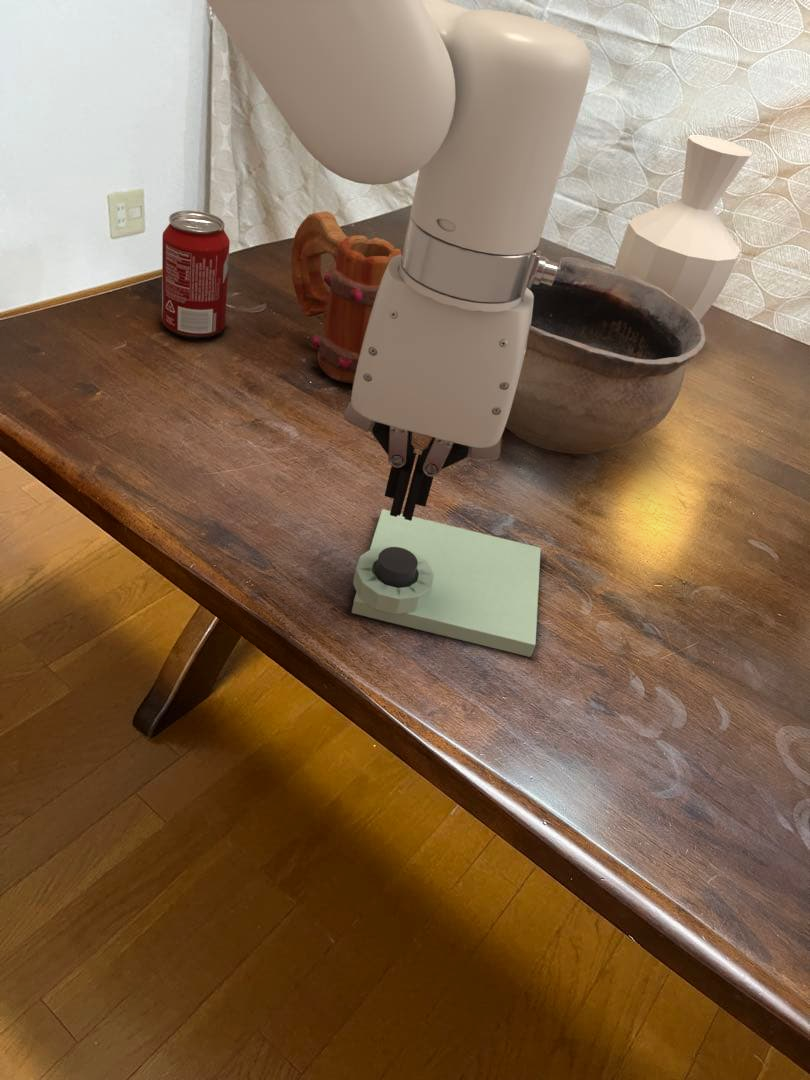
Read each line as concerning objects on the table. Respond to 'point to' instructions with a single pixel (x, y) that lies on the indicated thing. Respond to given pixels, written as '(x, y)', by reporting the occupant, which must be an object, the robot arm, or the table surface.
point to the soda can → (194, 274)
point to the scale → (454, 584)
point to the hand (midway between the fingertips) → (403, 506)
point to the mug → (338, 288)
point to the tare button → (396, 567)
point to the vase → (688, 230)
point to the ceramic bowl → (600, 359)
